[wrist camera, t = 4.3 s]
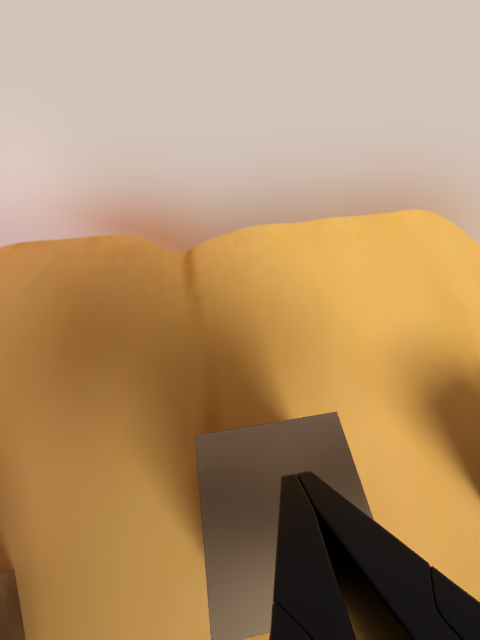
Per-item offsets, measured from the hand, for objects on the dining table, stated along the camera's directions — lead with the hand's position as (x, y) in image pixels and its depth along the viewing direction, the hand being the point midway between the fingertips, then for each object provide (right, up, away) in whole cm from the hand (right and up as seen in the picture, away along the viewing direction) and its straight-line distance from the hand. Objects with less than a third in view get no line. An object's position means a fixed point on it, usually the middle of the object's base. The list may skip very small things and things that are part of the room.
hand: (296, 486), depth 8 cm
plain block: (0, -7, +9) cm, 11 cm away
